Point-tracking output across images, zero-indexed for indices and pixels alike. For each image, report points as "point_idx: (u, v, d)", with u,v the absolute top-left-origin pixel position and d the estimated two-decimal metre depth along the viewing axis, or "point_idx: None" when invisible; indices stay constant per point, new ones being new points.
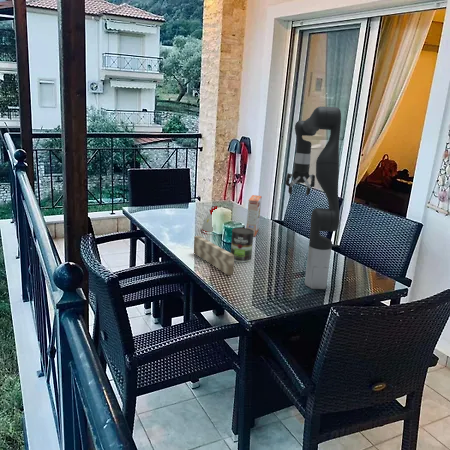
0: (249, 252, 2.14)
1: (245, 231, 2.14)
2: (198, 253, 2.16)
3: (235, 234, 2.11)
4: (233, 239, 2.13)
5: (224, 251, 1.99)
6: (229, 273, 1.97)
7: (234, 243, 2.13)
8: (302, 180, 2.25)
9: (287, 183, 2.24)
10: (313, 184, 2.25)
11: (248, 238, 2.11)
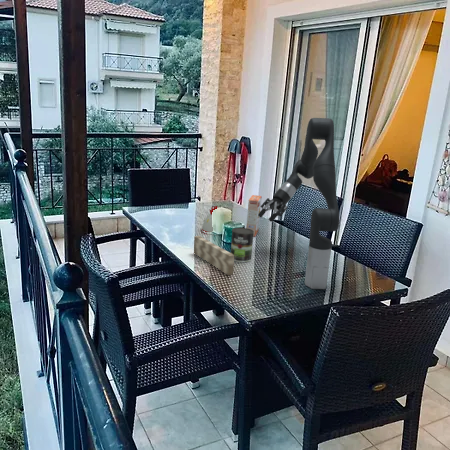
0: (249, 252, 2.14)
1: (245, 231, 2.14)
2: (198, 253, 2.16)
3: (235, 234, 2.11)
4: (233, 239, 2.13)
5: (224, 251, 1.99)
6: (229, 273, 1.97)
7: (234, 243, 2.13)
8: (274, 205, 2.20)
9: (262, 205, 2.25)
10: (279, 211, 2.15)
11: (248, 238, 2.11)
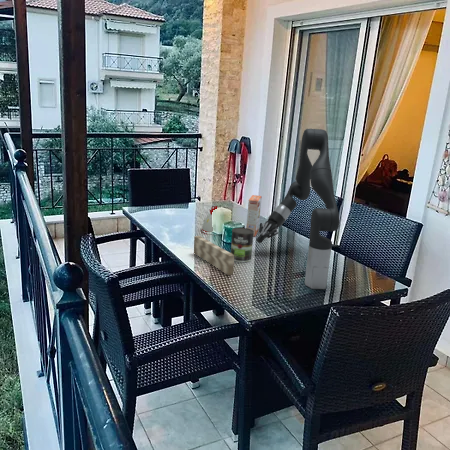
0: (249, 252, 2.14)
1: (245, 231, 2.14)
2: (198, 253, 2.16)
3: (235, 234, 2.11)
4: (233, 239, 2.13)
5: (224, 251, 1.99)
6: (229, 273, 1.97)
7: (234, 243, 2.13)
8: None
9: (260, 230, 2.24)
10: (267, 233, 2.20)
11: (248, 238, 2.11)
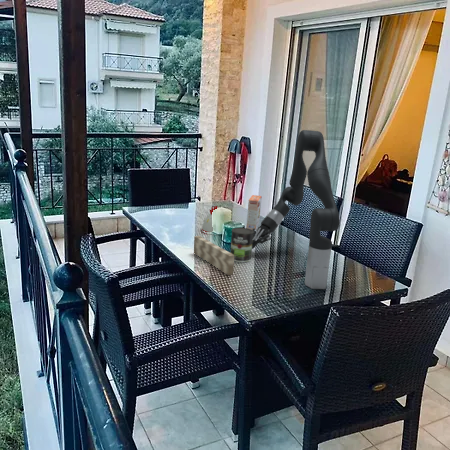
0: (249, 252, 2.14)
1: (245, 231, 2.14)
2: (198, 253, 2.16)
3: (235, 234, 2.11)
4: (233, 239, 2.13)
5: (224, 251, 1.99)
6: (229, 273, 1.97)
7: (234, 243, 2.12)
8: None
9: (253, 235, 2.22)
10: (259, 238, 2.18)
11: (248, 238, 2.11)
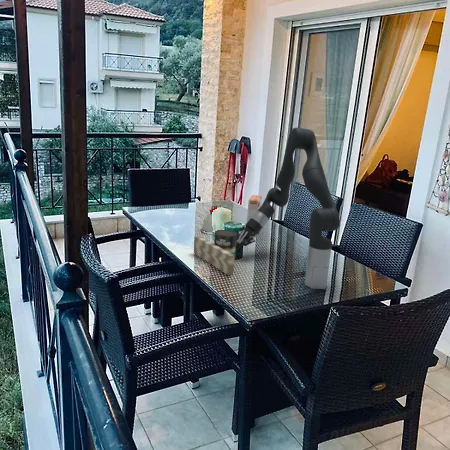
0: None
1: (228, 233, 2.09)
2: (198, 253, 2.16)
3: (217, 236, 2.06)
4: (216, 241, 2.08)
5: (224, 251, 1.99)
6: (229, 273, 1.97)
7: None
8: (245, 234, 2.16)
9: (237, 238, 2.17)
10: (243, 241, 2.13)
11: (230, 240, 2.06)
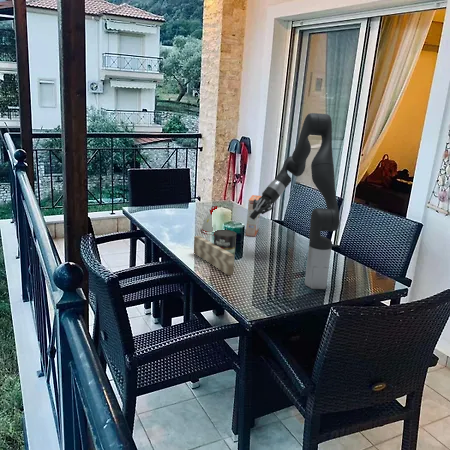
0: None
1: (228, 233, 2.08)
2: (198, 253, 2.16)
3: (217, 236, 2.06)
4: (215, 241, 2.08)
5: (224, 251, 1.99)
6: (229, 273, 1.97)
7: None
8: None
9: (254, 206, 2.18)
10: (261, 208, 2.14)
11: (230, 240, 2.06)
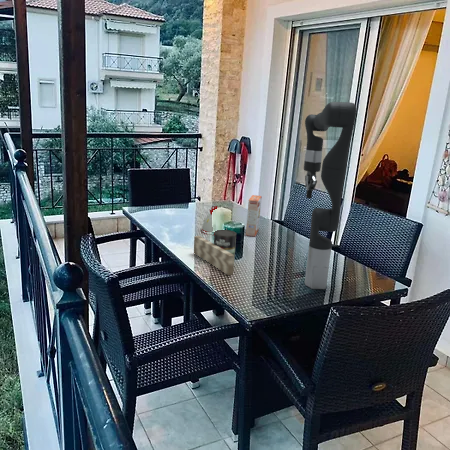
0: None
1: (228, 233, 2.08)
2: (198, 253, 2.16)
3: (217, 236, 2.06)
4: (215, 241, 2.08)
5: (224, 251, 1.99)
6: (229, 273, 1.97)
7: None
8: None
9: (306, 184, 2.10)
10: (308, 186, 2.05)
11: (230, 240, 2.06)
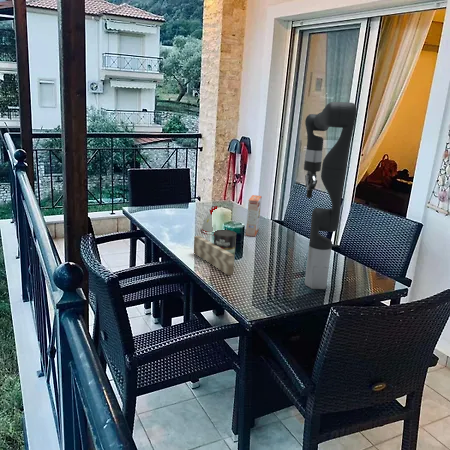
0: None
1: (228, 233, 2.08)
2: (198, 253, 2.16)
3: (217, 236, 2.06)
4: (215, 241, 2.08)
5: (224, 251, 1.99)
6: (229, 273, 1.97)
7: None
8: None
9: (306, 184, 2.10)
10: (309, 186, 2.04)
11: (230, 240, 2.06)
